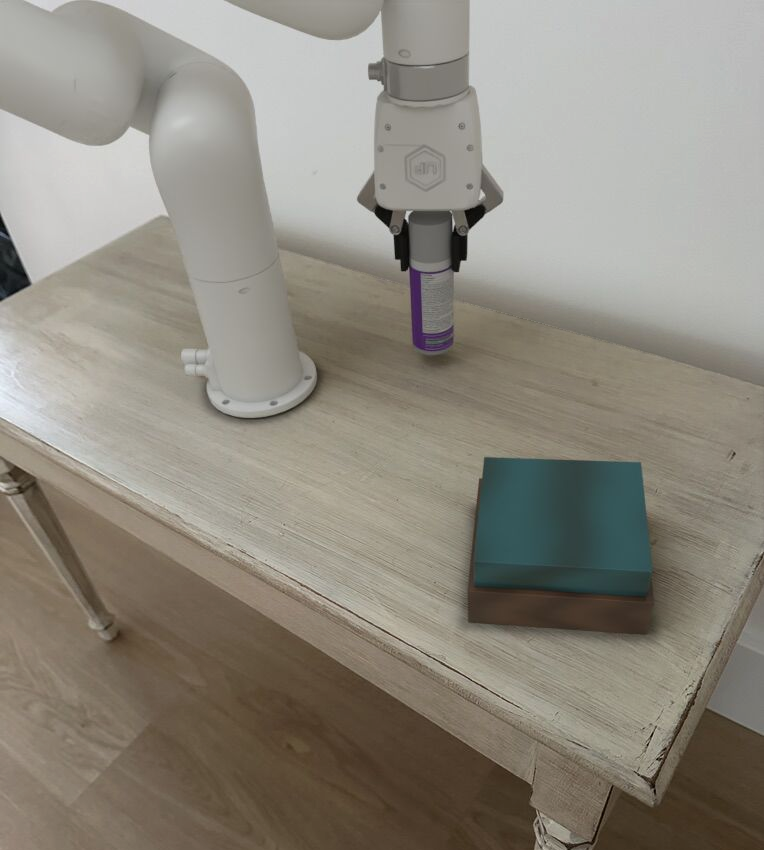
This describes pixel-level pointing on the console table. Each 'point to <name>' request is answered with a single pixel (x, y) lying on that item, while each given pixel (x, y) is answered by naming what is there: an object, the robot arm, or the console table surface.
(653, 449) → the console table surface
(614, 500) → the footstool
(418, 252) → the container
